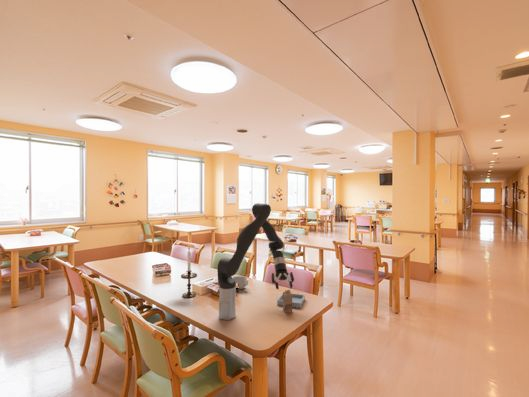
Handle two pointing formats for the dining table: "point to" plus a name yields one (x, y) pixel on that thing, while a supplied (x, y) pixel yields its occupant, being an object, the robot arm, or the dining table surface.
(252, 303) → the dining table surface
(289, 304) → the wick block
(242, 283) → the teacup
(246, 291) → the dining table surface
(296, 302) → the candle dish
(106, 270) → the dining table surface
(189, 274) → the candlestick
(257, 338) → the dining table surface
